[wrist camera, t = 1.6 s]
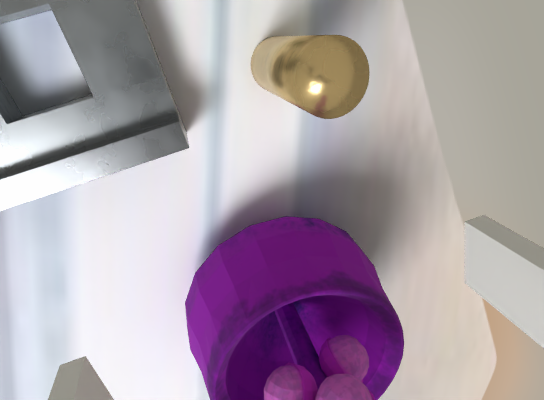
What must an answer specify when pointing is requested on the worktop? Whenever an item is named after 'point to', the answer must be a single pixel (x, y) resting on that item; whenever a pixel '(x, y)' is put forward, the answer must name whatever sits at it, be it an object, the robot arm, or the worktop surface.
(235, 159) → the worktop surface
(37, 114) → the jig
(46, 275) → the worktop surface
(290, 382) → the decorative plant
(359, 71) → the tan cylinder
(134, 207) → the worktop surface
